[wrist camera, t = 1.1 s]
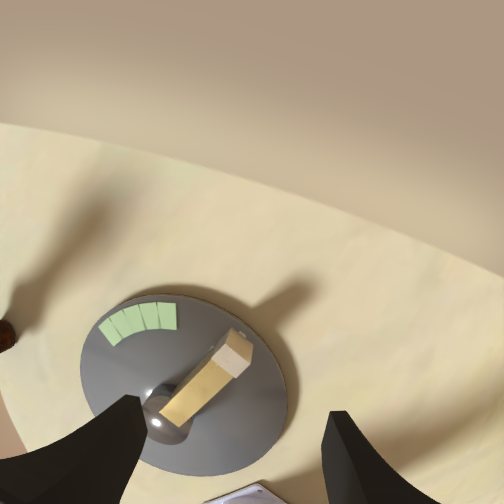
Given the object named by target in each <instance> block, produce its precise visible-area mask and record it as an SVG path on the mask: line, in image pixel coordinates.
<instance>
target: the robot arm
mask: <svg viewBox="0 0 504 504" xmlns="http://www.w3.org/2000/svg"><path fill="white" fill-rule="evenodd" d="M147 434H148V429H147V425H146V421H145V417H144V413H143V409H142V405H141V400H140V397H138V396H133V395H128V394H125V395H124V396H122V397H121V398H120V399H119V400H117V401H116V402H115V403H113V404H112V405H111V406H110V407H108V408H107V409H106V410H104V411H103V412H102V413H100V414H99V415H98V416H96V417H95V418H94V419H92V420H91V421H89V422H88V423H87V424H85V425H83V426H82V427H80V428H79V429H77V430H76V431H74V432H73V433H71V434H69V435H68V436H66V437H64V438H62V439H60V440H58V441H56V442H54V443H52V444H50V445H48V446H45V447H43V448H40V449H37V450H35V451H32V452H29V453H26V454H23V455H19V456H15V457H11V458H6V459H0V504H119V503H120V500H121V497H122V495H123V492H124V490H125V488H126V486H127V483H128V481H129V479H130V477H131V475H132V473H133V471H134V468H135V466H136V464H137V462H138V460H139V458H140V455H141V453H142V450H143V447H144V444H145V441H146V437H147ZM321 451H322V467H323V473H324V478H325V483H326V489H327V494H328V499H329V504H441V503H439V502H437V501H435V500H433V499H432V498H430V497H428V496H427V495H425V494H424V493H422V492H421V491H419V490H418V489H416V488H415V487H414V486H412V485H411V484H410V483H408V482H407V481H406V480H405V479H404V478H402V477H401V476H400V475H399V474H398V473H397V472H396V471H395V470H394V469H393V468H392V467H391V466H390V465H389V464H388V463H387V462H386V461H385V460H384V459H383V458H382V457H381V456H380V455H379V454H378V453H377V451H376V450H375V449H374V448H373V446H372V445H371V444H370V443H369V442H368V440H367V439H366V438H365V436H364V435H363V434H362V432H361V431H360V430H359V428H358V427H357V426H356V424H355V423H354V421H353V420H352V418H351V417H350V415H349V414H348V412H347V411H330V413H329V417H328V421H327V425H326V429H325V433H324V437H323V441H322V444H321ZM203 504H287V503H285V502H284V501H283V500H281V499H280V498H278V497H277V496H275V495H274V494H273V493H271V492H270V491H269V490H267V489H266V488H264V487H263V486H262V485H260V484H253V485H250V486H248V487H246V488H243V489H241V490H238V491H236V492H233V493H231V494H228V495H225V496H223V497H220V498H217V499H215V500H212V501H209V502H206V503H203Z"/></svg>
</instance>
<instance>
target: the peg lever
mask: <svg viewBox="0 0 504 504" xmlns="http://www.w3.org/2000/svg"><path fill="white" fill-rule="evenodd" d="M252 351H253V344H252V343H251V342H250V341H248V340H247V339H246V338H245V337H243V336H242V335H241V334H240V333H239V332H237V331H236V330H235V329H234V328H233V327H231V328H230V329H229V330H228V331H227V332H226V333H225V334H224V335H223V336H222V337H221V338H220V340H219V341H218V343H217V345H216V346H215V347H214V348H213V349H212V350H211V351H210V352H209V353H208V354H207V355H206V356H205V357H204V358H203V359H202V360H201V362H200V363H199V364H198V365H197V366H196V367H195V368H194V369H193V370H192V371H191V372H190V373H189V374H188V375H187V376H186V377H185V378H184V379H183V380H182V381H181V382H180V383H179V384H178V385H174V384H162V385H159V386H157V387H156V388H155V389H154V390H153V391H152V392H151V394H150V395H149V397H148V398H147V399H146V401H145V402H144V404H143V405H142V409H143V413H144V417H145V421H146V425H147V429H148V434H147V436H148V437H149V438H150V439H152V440H154V441H156V442H158V443H161V444H165V445H177V444H180V443H182V442H183V441H185V440H186V438H187V437H188V435H189V432H190V430H191V427H192V425H193V422H194V419H195V417H196V414H197V411H198V410H199V409H200V408H201V407H202V406H204V405H205V404H206V403H207V402H208V401H209V400H210V399H211V398H212V397H213V396H214V395H215V394H216V393H218V392H219V391H220V390H221V389H222V388H223V387H224V386H225V385H226V384H227V383H228V382H229V381H230V380H231V379H232V378H233V377H234V378H237V377H238V376H239V375H240V374H241V373H242V372H243V371H244V370H245V369H246V368H247V367H248V366H249V365H250V364H251V358H252Z"/></svg>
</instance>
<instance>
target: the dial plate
mask: <svg viewBox="0 0 504 504" xmlns="http://www.w3.org/2000/svg"><path fill="white" fill-rule="evenodd" d="M231 327H233V328H234V329H235V330H236V331H237V332H239V333H240V334H241V335H242V336H243V337H245V338H246V339H247V340H248V341H250V342H251V343H252V344H253V351H252V358H251V364H250V365H249V366H248V367H247V368H246V369H245V370H244V371H243V372H242V373H241V374H240V375H239V376H238V377H237V378H234V377H233V378H232V379H231V380H230V381H229V382H228V383H227V384H226V385H225V386H224V387H223V388H222V389H221V390H220V391H219V392H218V393H216V394H215V395H214V396H213V397H212V398H211V399H210V400H209V401H208V402H207V403H206V404H205V405H204V406H202V407H201V408H200V409H199V410H198V411H197V414H196V417H195V419H194V422H193V425H192V427H191V430H190V432H189V435H188V437H187V438H186V440H185V441H183V442H182V443H180V444H177V445H165V444H161V443H158V442H156V441H154V440H152V439H150V438H149V437H148V436H147V437H146V441H145V444H144V447H143V450H142V453H141V455H140V458H139V459H140V460H142V461H144V462H146V463H148V464H150V465H152V466H154V467H157V468H159V469H162V470H165V471H168V472H172V473H176V474H181V475H187V476H200V477H202V476H217V475H224V474H228V473H232V472H235V471H238V470H240V469H243V468H245V467H247V466H249V465H251V464H253V463H254V462H256V461H257V460H259V459H260V458H261V457H263V456H264V455H265V454H266V453H267V452H268V451H269V450H270V449H271V448H272V446H273V445H274V444H275V442H276V441H277V439H278V438H279V436H280V434H281V432H282V429H283V426H284V423H285V420H286V413H287V395H286V386H285V382H284V377H283V374H282V371H281V369H280V366H279V364H278V362H277V360H276V358H275V357H274V355H273V353H272V351H271V350H270V349H269V347H268V346H267V345H266V343H265V342H264V341H263V339H262V338H261V337H260V336H259V335H258V334H257V333H256V332H255V331H254V330H253V329H252V328H251V327H249V326H248V325H247V324H246V323H244V322H243V321H242V320H241V319H239V318H238V317H236V316H235V315H233V314H231V313H230V312H228V311H227V310H225V309H223V308H221V307H218V306H216V305H214V304H212V303H210V302H207V301H204V300H201V299H198V298H194V297H189V296H184V295H177V294H151V295H146V296H141V297H137V298H134V299H131V300H129V301H126V302H124V303H122V304H121V305H119V306H117V307H115V308H113V309H112V310H110V311H109V312H107V313H106V314H105V315H104V316H102V317H101V318H100V319H99V320H98V321H97V323H96V324H95V325H94V326H93V328H92V329H91V331H90V332H89V334H88V336H87V338H86V340H85V343H84V345H83V349H82V354H81V362H80V374H81V382H82V387H83V391H84V394H85V397H86V400H87V402H88V404H89V406H90V409H91V411H92V412H93V414H94V416H95V417H96V416H98V415H99V414H100V413H102V412H103V411H104V410H106V409H107V408H108V407H110V406H111V405H112V404H113V403H115V402H116V401H117V400H119V399H120V398H121V397H122V396H124V395H125V394H128V395H133V396H138V397H140V400H141V405H143V404H144V402H145V401H146V399H147V398H148V397H149V395H150V394H151V392H152V391H153V390H154V389H155V388H156V387H157V386H159V385H162V384H174V385H178V384H179V383H180V382H181V381H182V380H183V379H184V378H185V377H186V376H187V375H188V374H189V373H190V372H191V371H192V370H193V369H194V368H195V367H196V366H197V365H198V364H199V363H200V362H201V360H202V359H203V358H204V357H205V356H206V355H207V354H208V353H209V352H210V351H211V350H212V349H213V348H214V347H215V346H216V345H217V343H218V341H219V340H220V338H221V337H222V336H223V335H224V334H225V333H226V332H227V331H228V330H229V329H230V328H231Z"/></svg>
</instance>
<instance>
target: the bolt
mask: <svg viewBox="0 0 504 504" xmlns="http://www.w3.org/2000/svg"><path fill="white" fill-rule="evenodd" d="M13 341H15V333H14V331H13V329H12V328H11V326H10V325H9V324H8V323H7V322H6V321H4V320H0V353H2V352H4V351H6V350H7V349H10V348H12V346H14V344H15V342H13Z"/></svg>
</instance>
